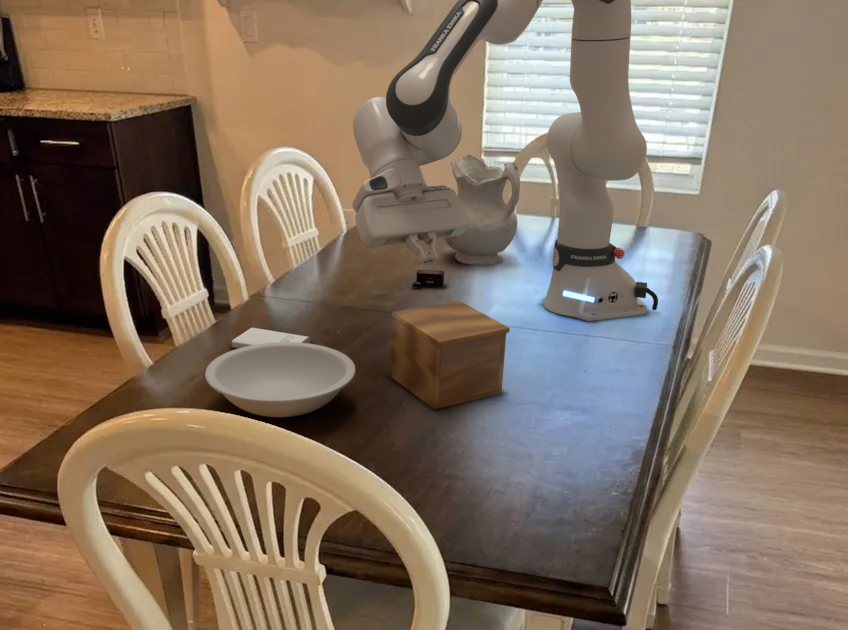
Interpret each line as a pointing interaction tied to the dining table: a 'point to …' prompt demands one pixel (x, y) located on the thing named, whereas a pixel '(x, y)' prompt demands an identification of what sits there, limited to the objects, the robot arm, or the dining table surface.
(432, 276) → the wireless earbuds
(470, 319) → the lid
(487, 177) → the ceramic pitcher
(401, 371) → the chest
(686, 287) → the dining table surface
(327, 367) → the soup bowl
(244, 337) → the hard drive
